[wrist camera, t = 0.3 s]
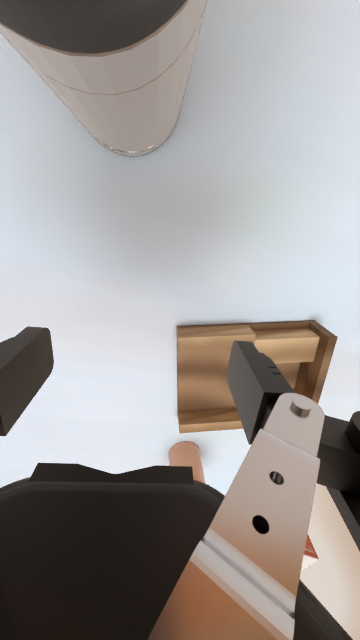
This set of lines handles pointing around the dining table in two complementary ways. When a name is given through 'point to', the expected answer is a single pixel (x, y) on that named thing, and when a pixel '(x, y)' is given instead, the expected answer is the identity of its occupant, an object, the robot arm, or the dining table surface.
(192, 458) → the salmon orange cylinder
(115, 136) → the robot arm
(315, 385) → the keyhole track
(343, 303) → the dining table surface
